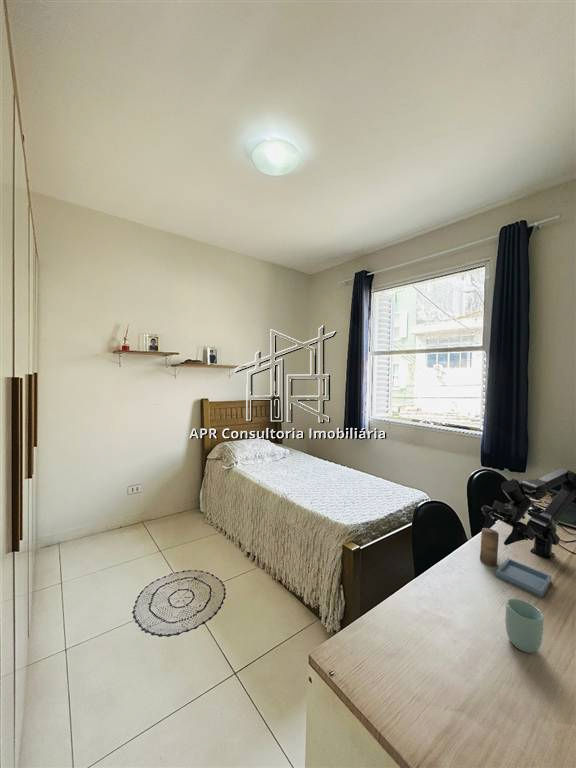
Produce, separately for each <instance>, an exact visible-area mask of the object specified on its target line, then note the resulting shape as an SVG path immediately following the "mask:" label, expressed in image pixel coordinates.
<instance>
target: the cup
mask: <svg viewBox="0 0 576 768" xmlns="http://www.w3.org/2000/svg"><path fill="white" fill-rule="evenodd" d="M544 618H545V617H544V615H543V613H542V612H541V610H540V609H539V608H537V607H536V606H535V605H533V604H532V603H530V602H529V601H525V600H522V599H519V598H509V599H507V601H506V604H505V631H506V635H507V637H508V640H509V641H510V643H511V644H512V645H513V646H514V647H516V648H517V649H518V650H520V651H522V652H523V653H527V654H534V653H537V652H538V651H539V650H540V649H541V646H542V642H543V635H544V628H545V627H544V624H545V619H544Z"/></svg>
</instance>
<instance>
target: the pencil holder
mask: <svg viewBox="0 0 576 768" xmlns="http://www.w3.org/2000/svg"><path fill="white" fill-rule="evenodd" d="M499 534H500V533H499V532H498V531H497V530H495V529H492V528H490V529H489V528H483V527H482V529H481V537H480V554H479V555H480V556H479V560H480V562H481V563H482V564H484V565H487V566H489V567H497V566H498V553H499V552H498V551H499V540H500V539H499V537H500V535H499Z"/></svg>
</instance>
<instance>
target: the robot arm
mask: <svg viewBox="0 0 576 768" xmlns="http://www.w3.org/2000/svg"><path fill="white" fill-rule="evenodd" d="M557 486H561V489H560V490H559V492H558V493H556V495H555V496H554V497H553V499H552V500H551V502H549V504H547V507H546V508H545V509H544V511H543V512H541V513H538V512H534V513H533V514H532V515H531V517H529V518H528V521H527V522H526V523H524V522H522V521H521V519H523V520H525V518H526V516H525V514H526V513H527V512H528V511H529V509H531V508H532V509H535V508H536V505H535V502H534V500H537V501H541V500H542V499H543V498H545V497H546V496H547V494H548V491H549V490H551V489H553V488H555V487H557ZM500 488H501V490H502V491H503V493H504V494H505V496H507V498H508V500H510V502H509V503H507V502H506V503H502V502H499V501H497V500H494V502H493V504H492V506H488V505H483V506H482V507H481V511H482V513H483V515H484V523H483V526H482V529H483V528H489V529H492V527H493V526H494V525H496V523H497V521H500V522H501V523H504V524H506V525H507V526H510V527H512V530H511V532H510V534H509V535H508V536H507V537H506V539H505V540H504V542H503V544H504V546H509V545H511V544H515V543H517V542H521V541H528V540H530V541H534V542H533V547H532V548H531V549H530V550H529V551H530V552H531V553H533V554H535V555H538V556H540V557H543V558H544V559H545V558H546V559H548V560H551V559H552V558H553V557H554V556H555V554H556V553H554V552H552V551H553V545H554V546H557V545H558V544H560V541H561V540H560V539H561V538H560V537H559V535H558V534H557V533H556V532H557V522H558V520H559V519H560V518H561V516H563V514H564V513H565V511H566V510H567V509H568V507H569V506H570V505H571V504H572V503H573V501H574V500H575V498H576V473H575V472H573V471H572V470H568V469H566V468H561V467H557V468H556V469H555V470H554V471H552V472H550V473H547V474H545V475H543V476H540V477H539V478H536V479H526V480H523V481H521V482H519V481H518V479H515V478H511V479H510V480H509V479H508V480H506V481H503V482H502V483H501V484H500ZM532 499H534V500H532ZM496 510H497V511H496Z"/></svg>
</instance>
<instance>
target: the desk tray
mask: <svg viewBox="0 0 576 768" xmlns="http://www.w3.org/2000/svg"><path fill="white" fill-rule="evenodd" d="M495 577H496V578H498V579H500V580H501V581H504V582H507V583H509V584H511V585H513V586H515V587H517V588H520V589H522V590H524V591H525V592H528V593H530V594H532V595H534V596H536V597H538V598H541V599H543V597H544V596H545V593H546V592H547V590H548V589H549V587H550V586H551V583H552V579H553V578H552V577H553V576H552V575H550V574H547V573H546V572H543V571H541V570H539V569H535V568H533V567H531V566H528V565H526V564H523V563H522V562H519V561H516V560H514V559H512V558H510V557H507V558H506V559H505V561H504V562H503V563H502V564H501V565H500V566H499V567H498V568H497V569H496V571H495Z"/></svg>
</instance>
